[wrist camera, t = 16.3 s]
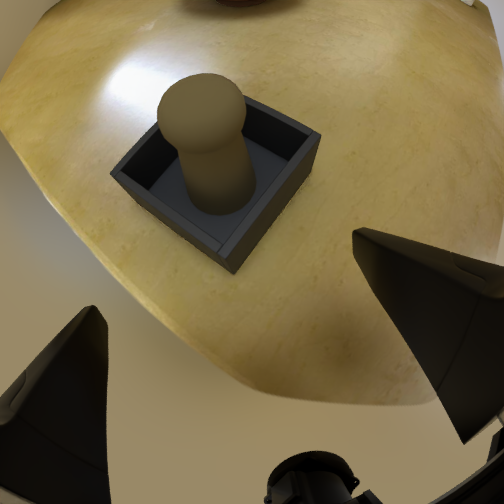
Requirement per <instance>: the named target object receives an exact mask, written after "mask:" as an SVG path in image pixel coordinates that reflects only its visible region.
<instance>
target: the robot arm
mask: <svg viewBox="0 0 504 504" xmlns="http://www.w3.org/2000/svg"><path fill="white" fill-rule="evenodd" d="M352 243H353V255H354V258H355V260H356V262H357V263H358V265H359V267H360V269H361V271H362V273H363V274H364V276H365V278H366V280H367V282H368V284H369V286H370V287H371V289H372V291H373V293H374V294H375V296H376V297H377V299H378V300H379V302H380V303H381V305H382V306H383V308H384V309H385V311H386V312H387V314H388V315H389V317H390V318H391V320H392V321H393V323H394V324H395V326H396V327H397V329H398V330H399V332H400V334H401V335H402V337H403V338H404V340H405V341H406V343H407V345H408V346H409V348H410V349H411V351H412V353H413V354H414V356H415V358H416V359H417V361H418V363H419V364H420V366H421V368H422V369H423V371H424V373H425V374H426V376H427V378H428V379H429V381H430V383H431V385H432V386H433V388H434V390H435V392H436V394H437V396H438V397H439V399H440V401H441V403H442V405H443V407H444V408H445V410H446V412H447V414H448V416H449V418H450V420H451V422H452V424H453V425H454V427H455V429H456V431H457V433H458V435H459V437H460V439H461V441H462V443H463V444H464V445H465V444H466V443H467V442H469V441H470V440H471V439H473V438H474V437H475V436H477V435H478V434H479V433H481V432H482V431H483V430H484V429H485V428H487V427H488V426H489V425H490V424H492V423H493V422H494V421H495V420H496V419H497V418H498V419H499V421H500V422H501V424H502V426H503V428H501V429H500V430H499V431H498V432H497V433H496V434H495V435H493V438H492V442H491V447H490V451H489V455H488V459H487V463H486V464H485V465H484V466H483V467H481V468H480V469H479V470H478V471H476V472H475V473H474V474H472V475H471V476H470V477H468V478H467V479H466V480H464V481H463V482H462V483H460V484H458V485H457V486H456V487H454V488H453V489H451V490H450V491H448V492H447V493H445V494H444V495H442V496H440V497H439V498H437V499H435V500H434V501H432V502H431V503H429V504H504V267H503V266H499V265H496V264H492V263H488V262H484V261H480V260H477V259H473V258H470V257H466V256H463V255H460V254H457V253H453V252H451V253H450V251H447V250H444V249H440V248H437V247H434V246H430V245H427V244H423V243H420V242H416V241H413V240H409V239H406V238H402V237H399V236H395V235H392V234H388V233H384V232H380V231H377V230H373V229H369V228H365V227H362V228H359V229H356V230H354V231H353V233H352ZM107 382H108V325H107V322H106V320H105V319H104V317H103V316H102V314H101V313H100V311H99V310H98V308H97V307H96V306H94V305H91V306H87V307H84V308H83V309H82V310H81V311H80V312H79V313H78V314H77V315H76V316H75V317H74V318H73V319H72V320H71V321H70V322H69V323H68V324H67V325H66V326H65V327H64V328H63V329H62V330H61V331H60V333H58V334H57V336H55V337H54V339H53V340H52V341H51V342H50V343H49V344H48V345H47V346H46V347H45V348H44V349H43V350H42V351H41V352H40V353H39V355H38V356H37V357H36V358H35V359H34V360H33V361H32V362H31V363H30V365H29V366H28V367H27V368H26V369H25V370H24V371H23V372H22V373H21V375H20V376H19V377H18V378H17V379H16V380H15V381H14V382H13V384H12V385H11V386H10V387H9V388H8V389H7V390H6V391H5V392H4V393H3V394H2V396H1V397H0V504H111V496H110V487H109V476H108V462H107V435H106V410H107V407H106V405H107ZM308 460H311V462H310V463H306V462H307V461H308ZM355 481H356V483H354V484H352V483H353V482H355ZM359 484H360V480H359V479H358V478H357V477H354V476H352V475H350V474H347V473H345V472H343V471H341V470H338V469H336V468H334V467H332V466H330V465H328V464H326V463H324V462H321V461H319V460H317V459H315V458H313V457H311V456H307V457H305V458H304V459H303V460H302V461H301V462H300V463H299V464H298V465H297V466H296V467H295V468H294V469H293V470H292V471H289V472H287V474H286V475H285V476H284V477H283V478H281V479H280V480H279V481H278V482H277V483H276V484H275V485H274V486H273V487H272V488H271V492H270V493H269V494H268V495H267V496H265V498H264V503H265V504H383V503H382V502H381V501H380V500H379V499H378V498H377V497H376V496H375V495H374V494H373V493H372V492H371V491H370V489H369V490H367V491H365V492H363V494H361V495H359V496H358V497H355V498H353V499H352V497H351V495H350V493H351V492H352V491H353V490H354V489H355V488H356V487H357V486H358V485H359ZM269 499H270V500H271V501H267V500H269Z"/></svg>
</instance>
